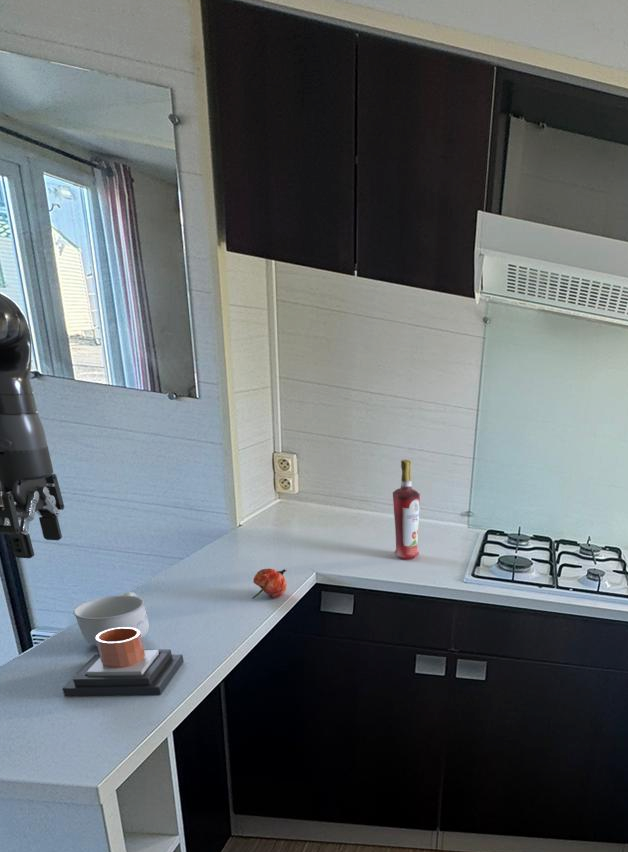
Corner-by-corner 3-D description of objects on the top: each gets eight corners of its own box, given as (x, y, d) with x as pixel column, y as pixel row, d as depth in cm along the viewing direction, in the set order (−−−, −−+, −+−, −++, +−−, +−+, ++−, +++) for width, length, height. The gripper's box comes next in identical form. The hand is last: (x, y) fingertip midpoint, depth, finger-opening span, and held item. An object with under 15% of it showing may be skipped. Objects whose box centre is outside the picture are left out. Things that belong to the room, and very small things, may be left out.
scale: (64, 696, 104) (60, 681, 103) (96, 662, 115) (93, 647, 113) (160, 695, 108) (157, 680, 107) (183, 661, 118) (181, 647, 117)
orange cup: (95, 669, 106) (88, 642, 104) (111, 652, 112) (105, 626, 110) (137, 668, 108) (131, 643, 106) (151, 652, 113) (145, 627, 111)
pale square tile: (88, 679, 106) (86, 671, 105) (108, 657, 113) (107, 649, 112) (143, 679, 108) (141, 671, 108) (159, 657, 115) (158, 649, 114)
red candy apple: (264, 613, 145) (299, 586, 147) (239, 590, 141) (275, 562, 143) (263, 604, 151) (296, 577, 153) (238, 582, 147) (273, 555, 149)
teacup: (126, 658, 117) (117, 619, 114) (67, 651, 117) (57, 612, 113) (174, 627, 130) (167, 592, 126) (121, 621, 129) (112, 585, 126)
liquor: (407, 551, 189) (406, 457, 176) (424, 557, 186) (425, 462, 174) (388, 556, 183) (386, 459, 171) (406, 563, 180) (405, 464, 168)
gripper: (9, 431, 96) (34, 532, 103) (-51, 449, 84) (-17, 562, 91) (67, 437, 99) (88, 535, 106) (17, 455, 86) (45, 565, 93)
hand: (39, 548), depth 98 cm, fingers open, 8 cm apart
